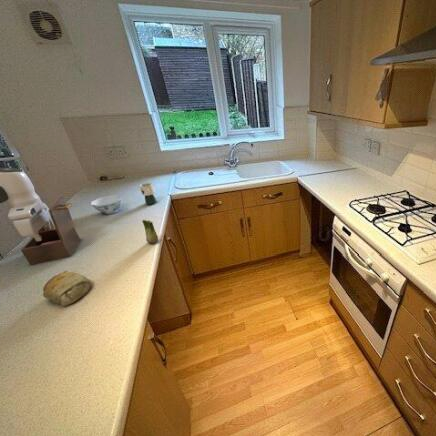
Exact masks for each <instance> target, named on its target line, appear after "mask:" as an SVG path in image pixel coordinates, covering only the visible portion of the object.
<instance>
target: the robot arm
mask: <svg viewBox="0 0 436 436" xmlns="http://www.w3.org/2000/svg"><path fill="white" fill-rule="evenodd" d="M5 202H7V203H8V204H9V206H10V208H9V211H8V214H7V218H8V219H9V220H10V221H12V223H13V225H14V227H15V229H16V230H17V232H18V233H19V235H20V236H21V237H25V238H27V237H31V238H32V237H33V238H35V240H36V241H41V240H42V239H43V237H42V236H40V235H39V234H38V231H39V230H40V229H41V228H42V227H43V226H44V229H45V231H50V230H51V227H50V221H49V220H50V219H52V218H51V216H50V213H49V211H48V210H49V209H50V208H49V207H48V205H47V204H46V203H45V202H43V201H42V198H41V197H40V196H39V194H37V193H36V191H35V185H34V184H33V182H32V181H31V179H30V178H29V176H28V175H27V174H26V172H24V171H23V170H22V169H21V168H17V167H0V204H2V203H5Z"/></svg>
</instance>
